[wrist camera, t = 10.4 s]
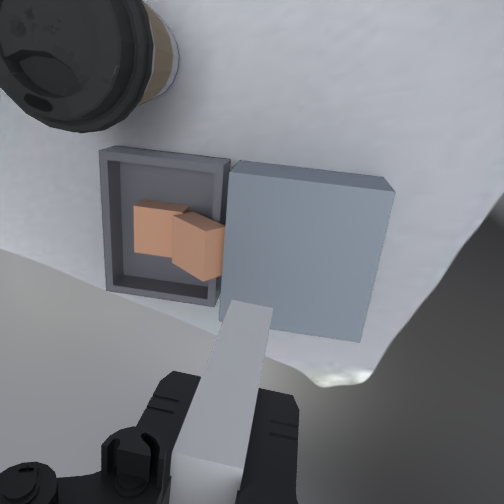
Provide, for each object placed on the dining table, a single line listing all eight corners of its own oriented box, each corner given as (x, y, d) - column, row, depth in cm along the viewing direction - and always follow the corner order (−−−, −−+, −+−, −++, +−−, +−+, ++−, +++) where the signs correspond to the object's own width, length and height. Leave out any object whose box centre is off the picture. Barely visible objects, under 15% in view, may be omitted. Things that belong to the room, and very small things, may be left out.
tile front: (191, 257, 43) (172, 262, 41) (193, 211, 41) (172, 215, 39) (223, 274, 39) (203, 281, 38) (226, 226, 37) (205, 231, 36)
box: (120, 276, 47) (106, 290, 44) (115, 145, 41) (98, 150, 38) (221, 291, 46) (214, 307, 43) (230, 159, 40) (223, 165, 37)
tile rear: (181, 259, 42) (187, 250, 44) (182, 212, 40) (189, 205, 42) (134, 252, 42) (143, 243, 44) (133, 205, 40) (143, 199, 42)
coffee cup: (75, 95, 40) (-48, 99, 26) (96, -35, 36) (-39, -112, 22) (183, 137, 40) (116, 163, 26) (217, 12, 36) (158, -35, 22)
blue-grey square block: (229, 293, 46) (218, 320, 41) (240, 160, 40) (229, 171, 35) (354, 311, 45) (360, 342, 39) (383, 177, 39) (395, 192, 34)
